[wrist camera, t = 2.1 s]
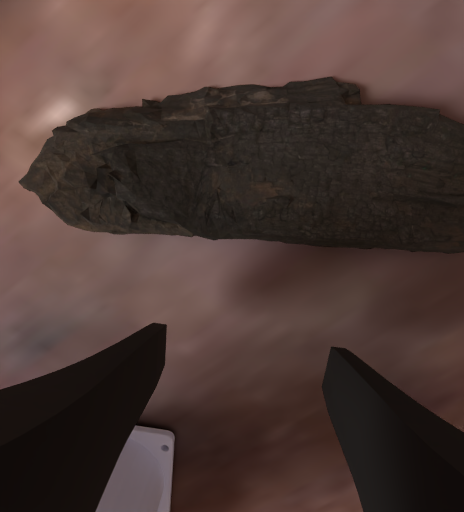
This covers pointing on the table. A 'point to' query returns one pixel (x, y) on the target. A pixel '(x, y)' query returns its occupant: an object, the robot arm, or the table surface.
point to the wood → (262, 169)
